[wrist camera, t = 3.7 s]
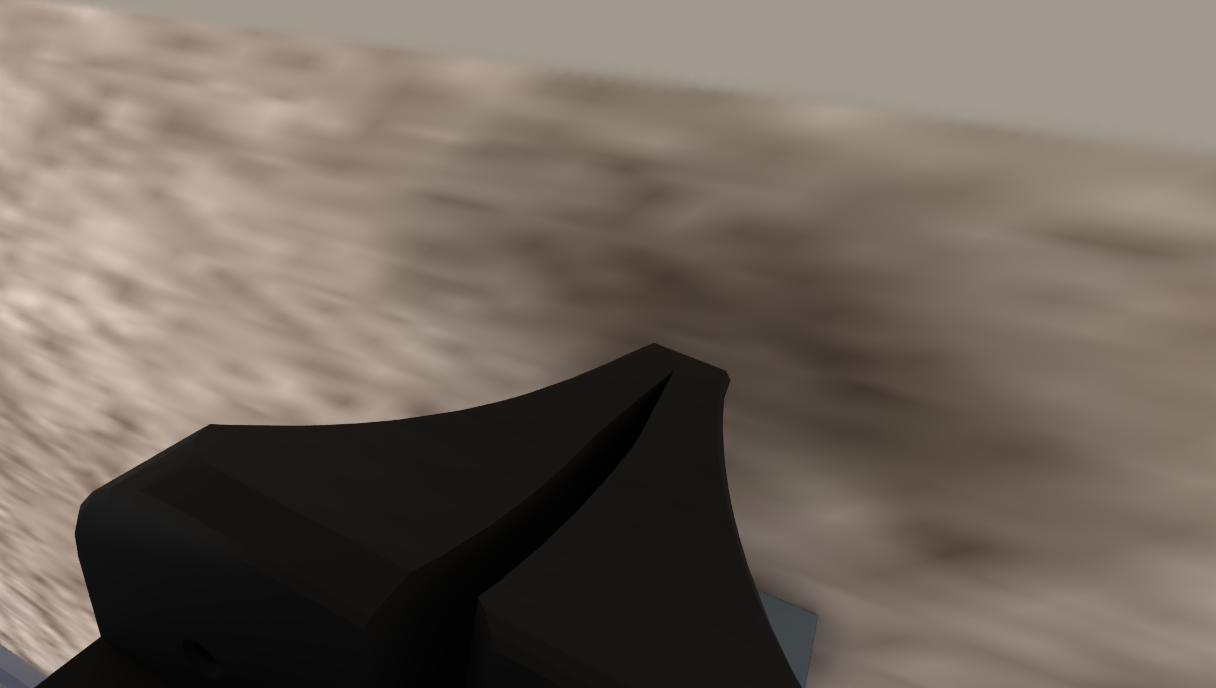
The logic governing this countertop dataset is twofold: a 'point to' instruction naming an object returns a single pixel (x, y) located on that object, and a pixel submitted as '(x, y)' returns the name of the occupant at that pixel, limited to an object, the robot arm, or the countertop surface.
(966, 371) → the countertop surface
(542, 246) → the countertop surface
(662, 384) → the robot arm
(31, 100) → the countertop surface
